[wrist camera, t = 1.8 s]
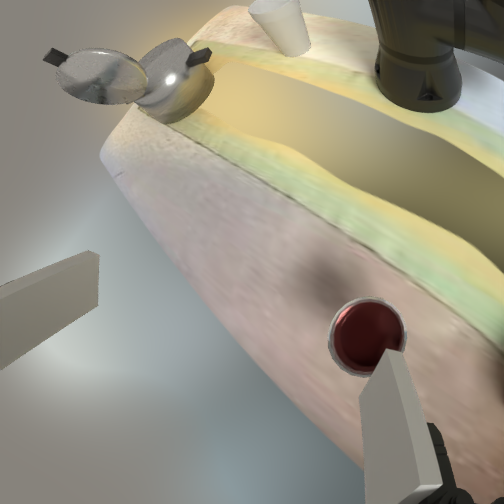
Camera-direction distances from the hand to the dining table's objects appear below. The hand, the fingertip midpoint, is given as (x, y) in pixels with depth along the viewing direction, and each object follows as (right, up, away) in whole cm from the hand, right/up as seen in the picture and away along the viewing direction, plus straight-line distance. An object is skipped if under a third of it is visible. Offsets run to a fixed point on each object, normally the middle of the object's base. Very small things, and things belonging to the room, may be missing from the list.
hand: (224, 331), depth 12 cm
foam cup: (+10, +45, +38) cm, 60 cm away
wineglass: (+16, -7, +20) cm, 27 cm away
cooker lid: (-26, +35, +28) cm, 52 cm away
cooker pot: (-15, +40, +49) cm, 65 cm away
